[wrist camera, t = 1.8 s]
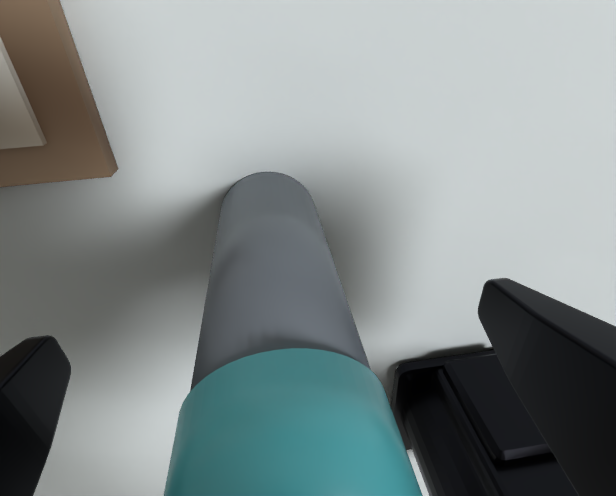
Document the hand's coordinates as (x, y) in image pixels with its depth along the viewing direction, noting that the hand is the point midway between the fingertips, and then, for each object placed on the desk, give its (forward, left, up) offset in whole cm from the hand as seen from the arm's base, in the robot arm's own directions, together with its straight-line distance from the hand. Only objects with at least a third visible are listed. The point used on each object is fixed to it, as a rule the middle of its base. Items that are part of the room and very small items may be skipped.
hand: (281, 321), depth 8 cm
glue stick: (0, 0, -5) cm, 5 cm away
